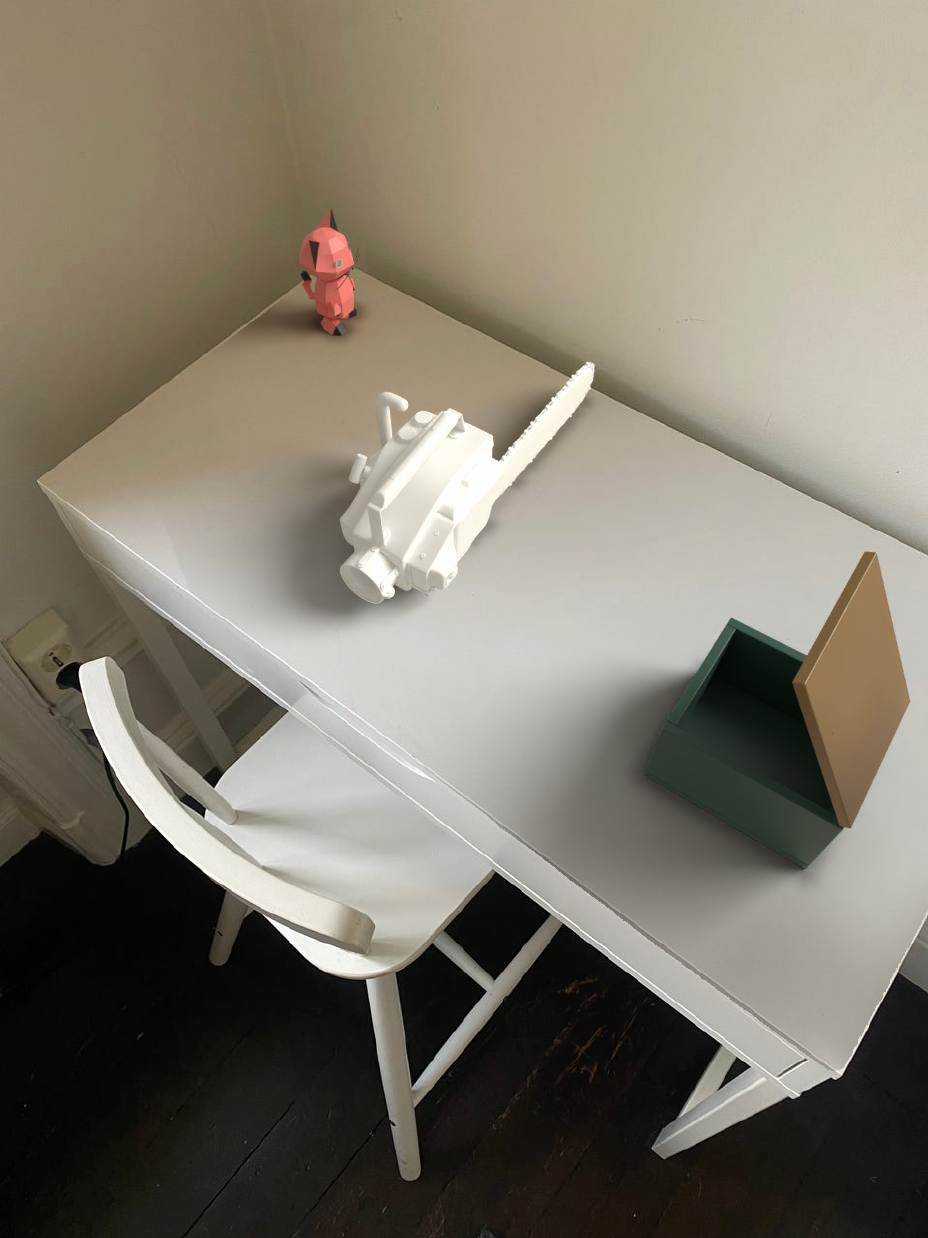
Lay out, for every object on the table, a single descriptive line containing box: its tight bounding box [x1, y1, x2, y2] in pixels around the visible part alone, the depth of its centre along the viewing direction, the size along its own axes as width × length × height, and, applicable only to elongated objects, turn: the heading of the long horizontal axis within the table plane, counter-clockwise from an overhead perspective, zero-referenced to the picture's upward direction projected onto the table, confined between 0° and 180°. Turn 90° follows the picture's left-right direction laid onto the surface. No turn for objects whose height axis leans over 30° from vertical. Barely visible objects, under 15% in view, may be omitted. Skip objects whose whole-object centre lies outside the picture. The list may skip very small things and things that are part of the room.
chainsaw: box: [339, 361, 596, 605], centre depth 85 cm, size 15×35×12 cm, turn 146°
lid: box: [792, 550, 911, 830], centre depth 60 cm, size 14×12×1 cm
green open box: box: [644, 617, 845, 870], centre depth 70 cm, size 14×12×8 cm
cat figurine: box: [298, 207, 360, 336], centre depth 99 cm, size 7×7×12 cm
